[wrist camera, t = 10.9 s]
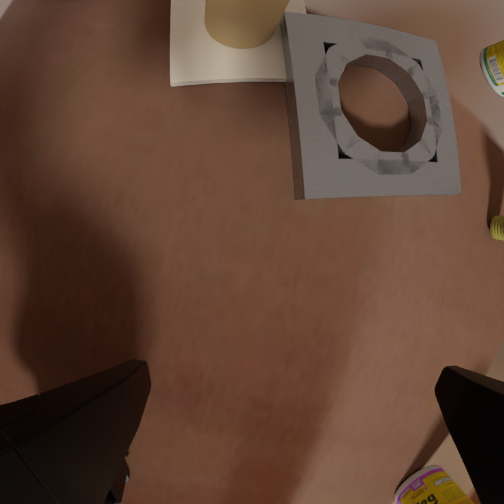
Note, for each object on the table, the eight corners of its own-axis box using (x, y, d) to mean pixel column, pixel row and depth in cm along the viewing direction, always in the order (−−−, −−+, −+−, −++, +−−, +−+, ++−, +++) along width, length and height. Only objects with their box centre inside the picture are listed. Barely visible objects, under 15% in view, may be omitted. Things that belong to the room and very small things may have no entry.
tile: (170, 86, 17) (170, 83, 17) (172, -18, 16) (172, -22, 15) (314, 83, 18) (317, 79, 18) (297, -17, 17) (299, -22, 16)
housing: (295, 199, 19) (305, 199, 17) (277, 26, 17) (284, 11, 16) (443, 195, 21) (461, 194, 19) (421, 49, 19) (435, 41, 17)
